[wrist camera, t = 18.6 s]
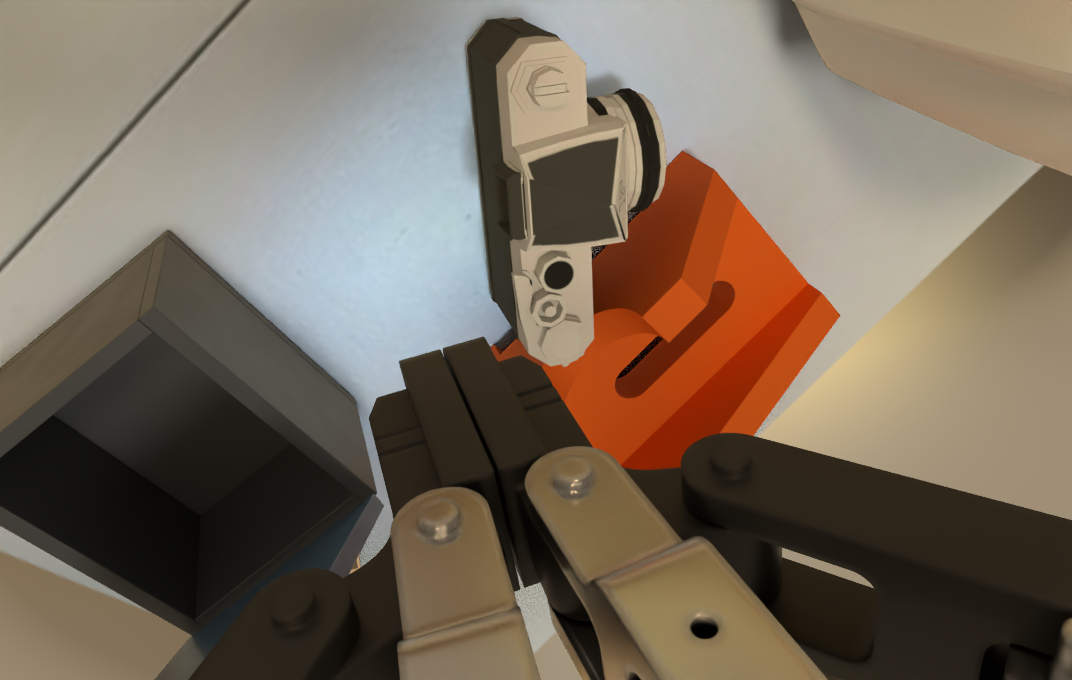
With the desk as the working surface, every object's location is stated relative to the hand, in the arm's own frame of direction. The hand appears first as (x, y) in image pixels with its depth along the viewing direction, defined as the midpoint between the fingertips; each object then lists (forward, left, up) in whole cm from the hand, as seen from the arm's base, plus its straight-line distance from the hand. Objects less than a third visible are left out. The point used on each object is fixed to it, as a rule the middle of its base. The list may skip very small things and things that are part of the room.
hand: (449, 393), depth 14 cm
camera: (+11, +6, -29) cm, 32 cm away
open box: (+8, -16, -29) cm, 34 cm away
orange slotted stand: (+23, +5, -29) cm, 38 cm away
